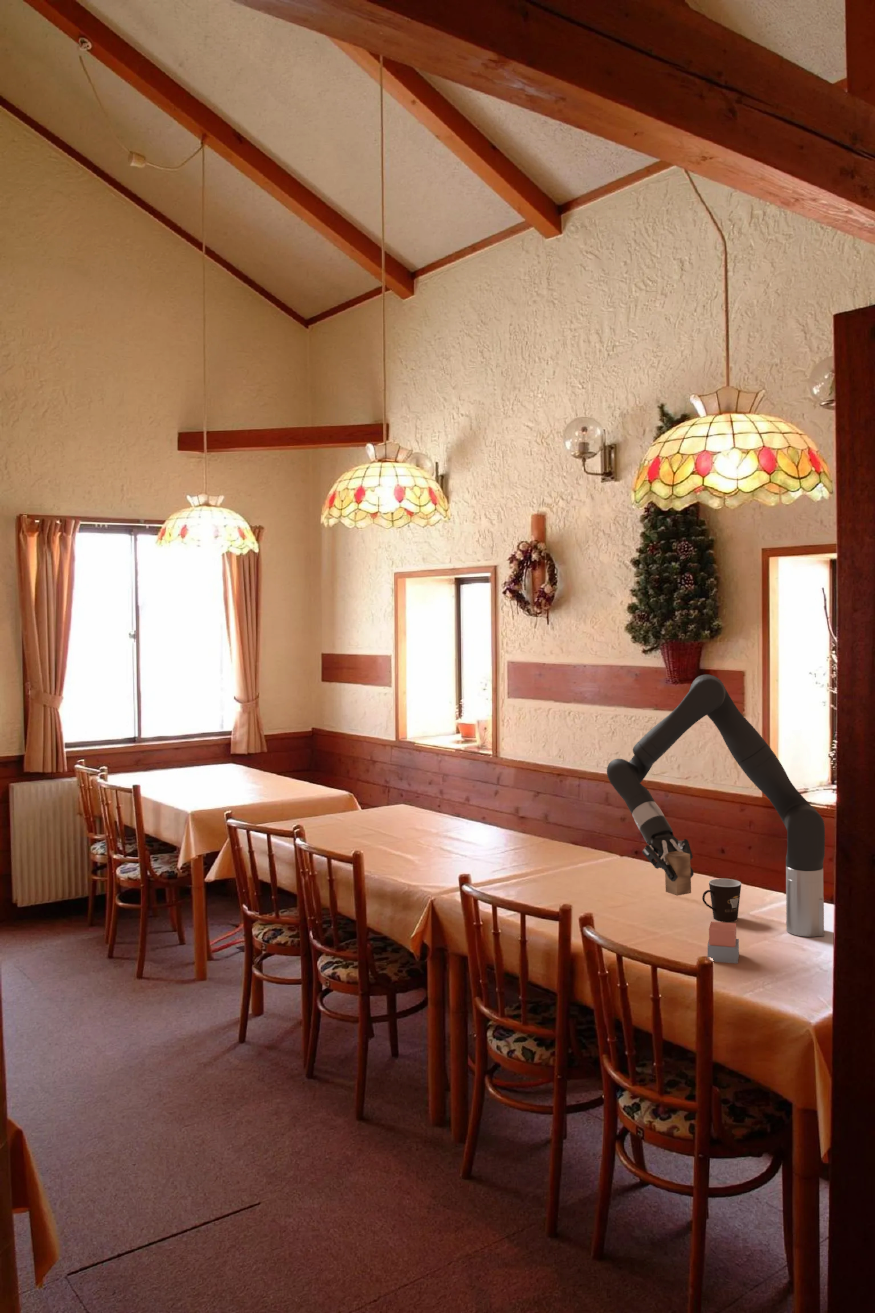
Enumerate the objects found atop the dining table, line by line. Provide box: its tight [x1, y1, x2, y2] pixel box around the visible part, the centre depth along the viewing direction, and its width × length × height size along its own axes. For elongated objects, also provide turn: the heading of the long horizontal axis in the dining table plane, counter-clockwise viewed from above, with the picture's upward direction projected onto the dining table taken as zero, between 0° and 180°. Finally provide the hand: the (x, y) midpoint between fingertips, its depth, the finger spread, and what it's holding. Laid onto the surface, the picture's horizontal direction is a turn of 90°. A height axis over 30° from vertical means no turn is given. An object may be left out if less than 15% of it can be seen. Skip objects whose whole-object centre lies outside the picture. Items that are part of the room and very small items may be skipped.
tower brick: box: [708, 921, 737, 947], centre depth 248 cm, size 6×6×4 cm
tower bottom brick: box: [707, 938, 740, 964], centre depth 248 cm, size 7×7×4 cm
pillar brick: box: [664, 851, 692, 896], centre depth 258 cm, size 4×4×10 cm
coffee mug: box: [702, 878, 742, 923], centre depth 279 cm, size 12×9×10 cm
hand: (683, 878), depth 257 cm, fingers closed on pillar brick, 4 cm apart
